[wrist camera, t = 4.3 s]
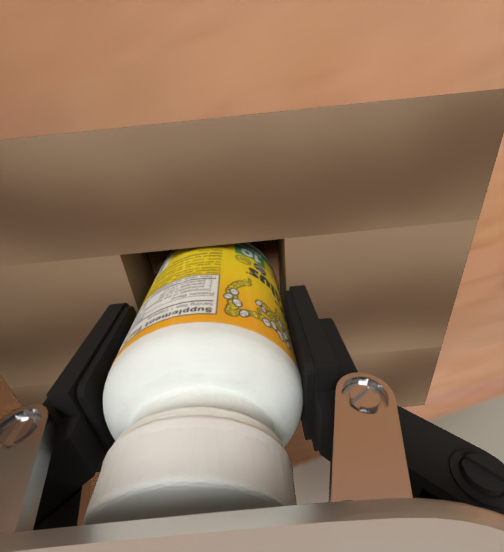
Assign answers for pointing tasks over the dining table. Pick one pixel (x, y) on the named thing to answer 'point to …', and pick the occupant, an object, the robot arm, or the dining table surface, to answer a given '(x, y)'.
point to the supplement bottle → (201, 393)
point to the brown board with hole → (252, 223)
